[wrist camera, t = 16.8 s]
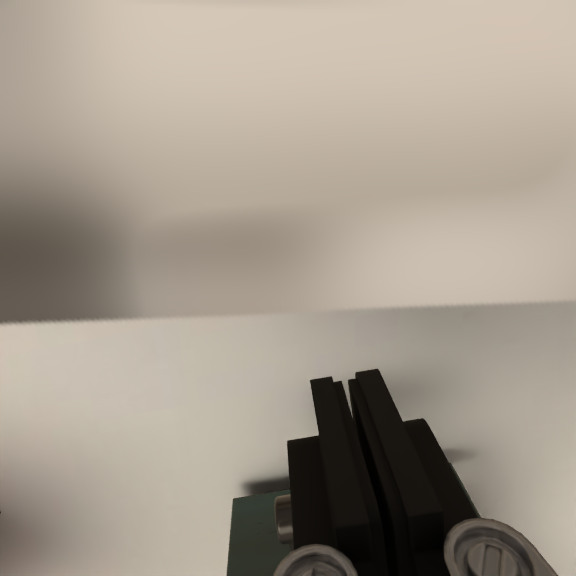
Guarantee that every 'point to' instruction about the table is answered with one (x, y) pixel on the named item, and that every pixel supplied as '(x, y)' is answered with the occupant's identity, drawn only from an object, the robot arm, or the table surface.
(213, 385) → the table surface
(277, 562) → the drawer
